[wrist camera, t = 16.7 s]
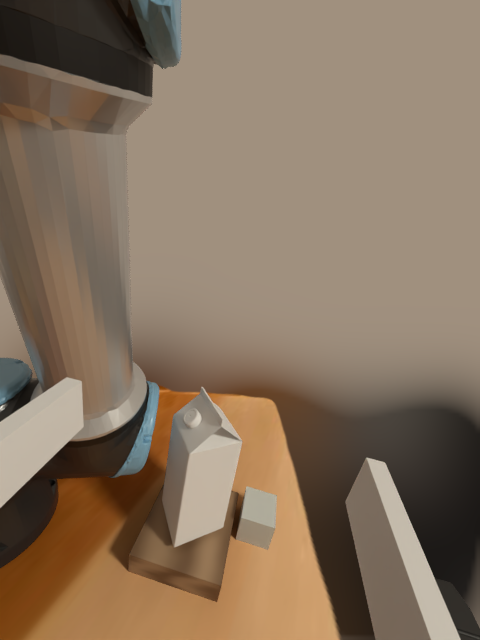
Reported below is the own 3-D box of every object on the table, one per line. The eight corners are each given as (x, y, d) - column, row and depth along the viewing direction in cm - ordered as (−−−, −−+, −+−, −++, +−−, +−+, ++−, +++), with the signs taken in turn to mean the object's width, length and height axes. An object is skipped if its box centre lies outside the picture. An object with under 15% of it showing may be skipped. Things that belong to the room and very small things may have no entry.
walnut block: (128, 573, 34) (129, 554, 33) (167, 489, 45) (169, 472, 44) (216, 604, 33) (221, 585, 31) (234, 509, 44) (238, 493, 43)
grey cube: (235, 539, 39) (241, 517, 38) (241, 507, 44) (246, 486, 42) (267, 550, 39) (275, 528, 37) (270, 516, 44) (276, 495, 42)
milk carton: (205, 486, 43) (224, 384, 38) (223, 528, 37) (249, 414, 32) (161, 499, 39) (176, 389, 34) (173, 549, 33) (193, 424, 28)
